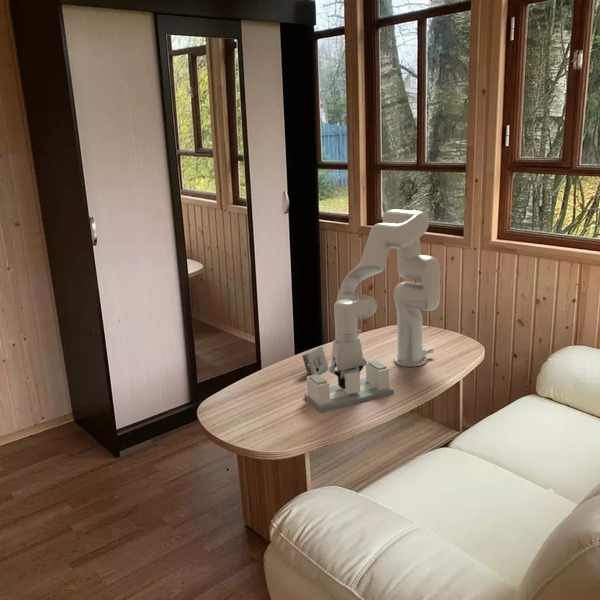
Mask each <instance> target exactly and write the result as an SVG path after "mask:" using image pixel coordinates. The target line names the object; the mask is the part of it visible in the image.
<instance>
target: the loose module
mask: <svg viewBox="0 0 600 600" xmlns="http://www.w3.org/2000/svg"><path fill="white" fill-rule="evenodd" d="M336 376H337V375H336ZM337 378H338V376H337ZM343 378H345V389H343V390H344V391H345V392H346V393H348V394H352V393H356V392H360V380H361V371H360V372H358V371H357V370H356V369H354V368H350V369H346V370H344V376H343ZM337 386H339V384H338V383H337ZM339 387H340V386H339ZM340 388H341V387H340ZM341 389H342V388H341Z"/></svg>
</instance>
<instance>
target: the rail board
mask: <svg viewBox="0 0 600 600" xmlns="http://www.w3.org/2000/svg"><path fill="white" fill-rule="evenodd" d="M329 390H330V403H328V404H324V405H320V406H319V405H318V404H317V403H316V402H315V401H314V400H313V399H311V398H310V397H309V396H308V392H305V393H304V395H303V396H304V399H305V400H306V401H307V402H308V403H310V404H311V405H312V406H313V407H314V408H315V409H317V410H318V412H320V413H324V412H328V411H331V410H335V409H339V408H343V407H347V406H351V405H356V404H358V403H361V402H362V403H363V402H365V401H370V400H375V399H377V398H381V397H384V396H389V395H393V394H395V389H394V388H393V387H391V386H390V385H389V388H386V389H382V390H379V389H377V388H376V387H374V386H373V385H372V384H370V383H368V382H367V381H366V378H363V379H360V392H356V393H352V394H348V393H346V392H345V391H344V390H343V389H341V388H340V387H339V386H338V385H335V386H329Z"/></svg>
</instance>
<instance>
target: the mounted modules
mask: <svg viewBox="0 0 600 600" xmlns="http://www.w3.org/2000/svg"><path fill="white" fill-rule="evenodd" d="M365 375H366V377H365V379H366V381H367V382H368V383H370V384H372V385H373V386H374V387H376V388H377V389H379V390H382V389H386V388H389V386H390V368H388V367H387V365H385V364H383V363H381V362H379V361H378V360H377V359H376V360H375V359H374V360H371V361H367V364H366V365H365ZM306 383H307V393H308V396H309V397H310V398H311V399H313V400H314V401H315V402H316V403H317V404H318V405H319V406H320V405H324V404H328V403H330V390H329V388H330V383H329V382H328V381H327V380H326V379H324V377H323V376H321V375H320V374H319V375H318V374H315V375H307V376H306Z"/></svg>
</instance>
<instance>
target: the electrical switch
mask: <svg viewBox="0 0 600 600" xmlns="http://www.w3.org/2000/svg"><path fill="white" fill-rule="evenodd" d="M301 358H302V360H303V364H304V366H305V370H306V374H307V376H311V375H315V374H318V375H320V374H322V373H324V372H326V371H327V370H329V365H328V362H327V361H328V360H327V356H326V354H325V351H324V348H323V346H318V347H316V348H315V349H312V350H311V351H309V352H306V353H304V354H303V355H302V357H301Z"/></svg>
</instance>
